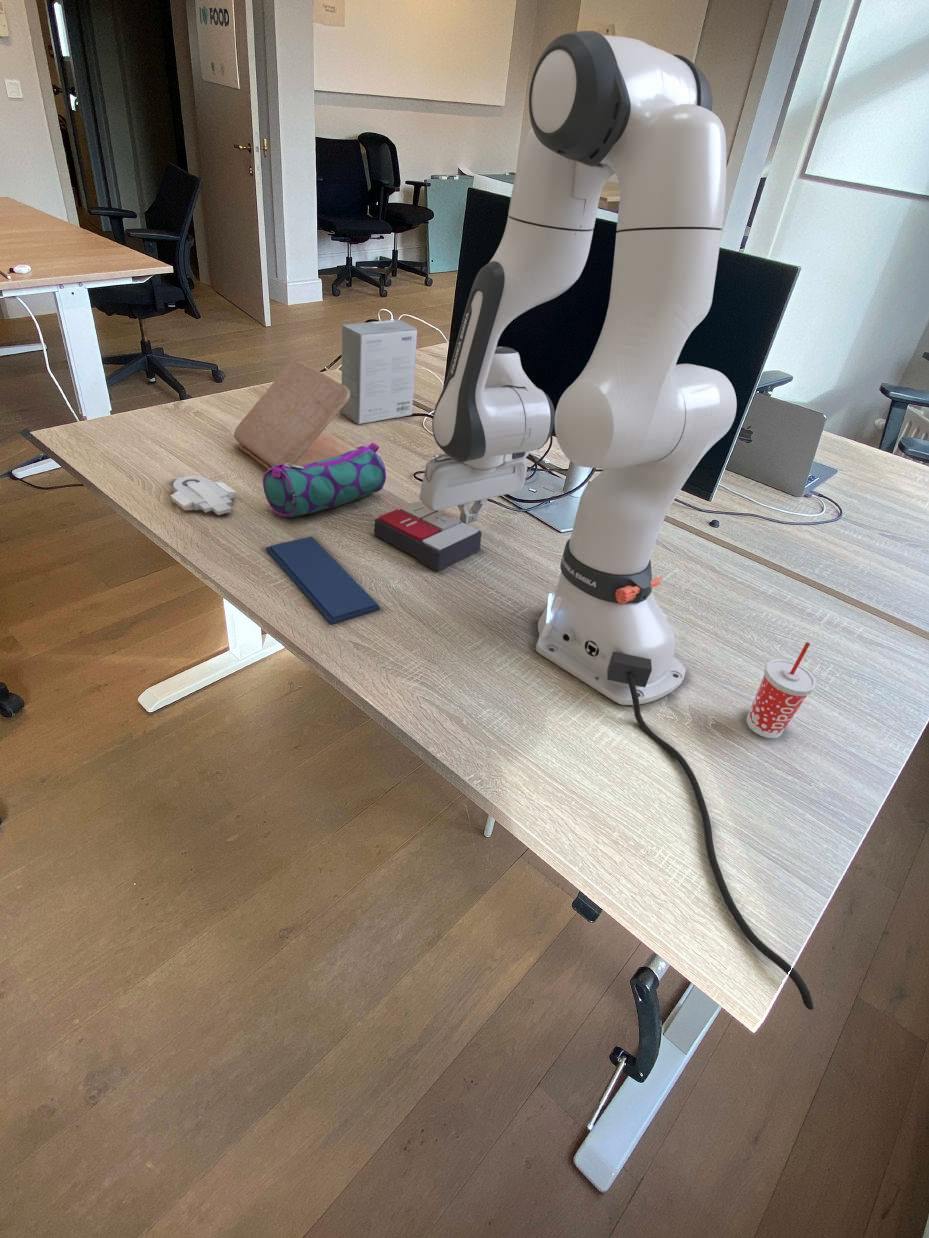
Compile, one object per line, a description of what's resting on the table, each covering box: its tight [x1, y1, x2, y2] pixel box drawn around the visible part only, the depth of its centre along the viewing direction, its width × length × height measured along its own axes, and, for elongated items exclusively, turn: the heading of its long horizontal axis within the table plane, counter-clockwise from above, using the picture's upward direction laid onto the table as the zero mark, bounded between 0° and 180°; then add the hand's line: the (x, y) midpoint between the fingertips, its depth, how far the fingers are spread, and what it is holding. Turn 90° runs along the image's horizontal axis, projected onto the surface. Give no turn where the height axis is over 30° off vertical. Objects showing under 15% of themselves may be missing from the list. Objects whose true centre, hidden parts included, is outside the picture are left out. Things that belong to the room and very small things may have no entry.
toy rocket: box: [170, 475, 237, 516], centre depth 121 cm, size 16×10×2 cm, turn 47°
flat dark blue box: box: [265, 536, 381, 625], centre depth 106 cm, size 22×8×1 cm, turn 36°
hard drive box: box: [341, 319, 419, 425], centre depth 157 cm, size 16×8×20 cm, turn 130°
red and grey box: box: [373, 500, 482, 572], centre depth 118 cm, size 11×4×15 cm
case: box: [233, 361, 358, 470], centre depth 135 cm, size 20×21×16 cm
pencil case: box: [262, 442, 387, 518], centre depth 123 cm, size 21×9×10 cm, turn 135°
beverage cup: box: [746, 641, 817, 739], centre depth 88 cm, size 6×6×14 cm
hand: (469, 520), depth 122 cm, fingers closed
